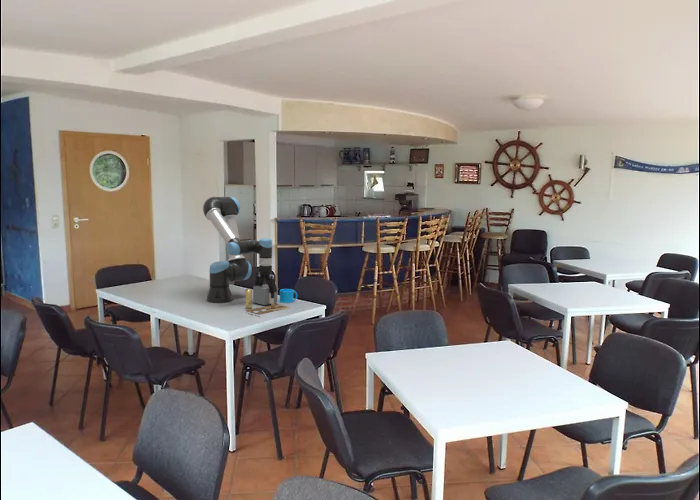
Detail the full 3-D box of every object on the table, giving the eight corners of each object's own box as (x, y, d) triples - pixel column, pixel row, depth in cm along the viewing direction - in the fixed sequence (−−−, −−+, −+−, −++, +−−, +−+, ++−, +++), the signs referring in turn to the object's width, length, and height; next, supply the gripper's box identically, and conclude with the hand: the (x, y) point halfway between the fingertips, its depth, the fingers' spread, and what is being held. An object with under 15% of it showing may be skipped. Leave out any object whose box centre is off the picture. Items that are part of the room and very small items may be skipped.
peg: (244, 310, 297) (244, 289, 295) (248, 309, 299) (249, 288, 298) (248, 311, 295) (248, 290, 293) (252, 310, 297) (253, 289, 296)
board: (261, 309, 301) (261, 302, 300) (276, 306, 310) (277, 299, 309) (275, 313, 293) (275, 305, 293) (291, 309, 302) (291, 302, 302)
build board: (245, 313, 291) (245, 310, 291) (260, 309, 300) (260, 307, 299) (258, 316, 284) (258, 313, 284) (273, 313, 293) (273, 310, 292)
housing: (253, 302, 309) (253, 286, 308) (265, 299, 317) (266, 284, 316) (264, 305, 303) (264, 288, 302) (277, 302, 311) (277, 286, 310)
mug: (284, 305, 312) (284, 292, 311) (277, 302, 318) (277, 289, 317) (301, 303, 320) (301, 290, 319) (293, 300, 326) (293, 287, 325)
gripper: (248, 263, 312) (247, 299, 314) (273, 267, 298) (273, 306, 300) (257, 262, 317) (257, 298, 320) (283, 266, 303) (283, 304, 306)
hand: (265, 302), depth 310 cm, fingers closed on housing, 10 cm apart
